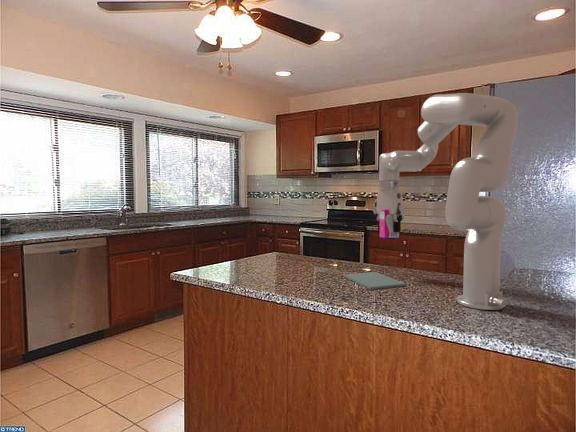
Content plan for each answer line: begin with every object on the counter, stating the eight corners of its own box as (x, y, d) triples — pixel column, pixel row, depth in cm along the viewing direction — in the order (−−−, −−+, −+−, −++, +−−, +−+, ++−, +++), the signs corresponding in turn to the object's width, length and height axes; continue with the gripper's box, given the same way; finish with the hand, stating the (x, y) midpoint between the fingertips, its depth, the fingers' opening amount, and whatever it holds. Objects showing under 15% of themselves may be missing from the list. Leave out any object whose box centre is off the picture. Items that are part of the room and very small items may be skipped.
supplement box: (393, 237, 152) (393, 208, 151) (399, 239, 146) (399, 209, 145) (378, 237, 151) (379, 208, 150) (384, 239, 145) (384, 209, 144)
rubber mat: (405, 285, 134) (405, 283, 134) (370, 289, 129) (370, 287, 129) (375, 273, 153) (375, 271, 153) (343, 276, 148) (343, 274, 148)
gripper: (414, 185, 142) (413, 232, 143) (379, 186, 157) (379, 229, 158) (399, 185, 138) (399, 234, 139) (366, 186, 153) (366, 230, 154)
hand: (388, 231), depth 148 cm, fingers closed on supplement box, 7 cm apart
